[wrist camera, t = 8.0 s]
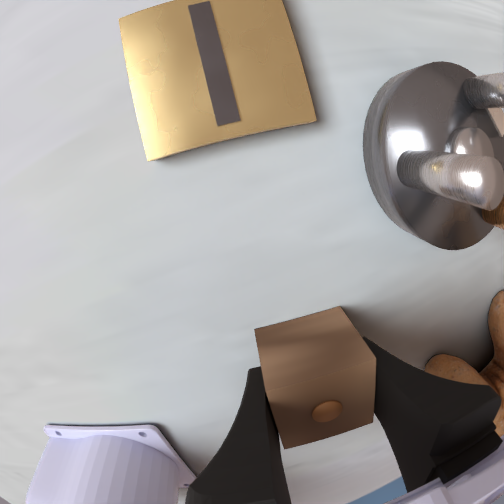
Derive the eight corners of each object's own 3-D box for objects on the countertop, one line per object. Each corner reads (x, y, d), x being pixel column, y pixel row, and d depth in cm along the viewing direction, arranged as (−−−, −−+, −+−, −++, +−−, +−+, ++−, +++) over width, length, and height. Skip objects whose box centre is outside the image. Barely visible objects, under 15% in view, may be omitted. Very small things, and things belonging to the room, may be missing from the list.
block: (271, 389, 14) (284, 451, 11) (254, 329, 13) (266, 393, 9) (345, 368, 15) (373, 423, 11) (339, 306, 13) (377, 359, 9)
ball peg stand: (425, 269, 13) (507, 328, 7) (324, 142, 11) (414, 138, 5) (503, 166, 12) (584, 184, 6) (428, 42, 10) (517, 11, 4)
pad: (154, 160, 11) (147, 161, 9) (126, 27, 9) (117, 17, 8) (308, 123, 11) (317, 120, 10) (271, -6, 9) (276, -19, 8)
